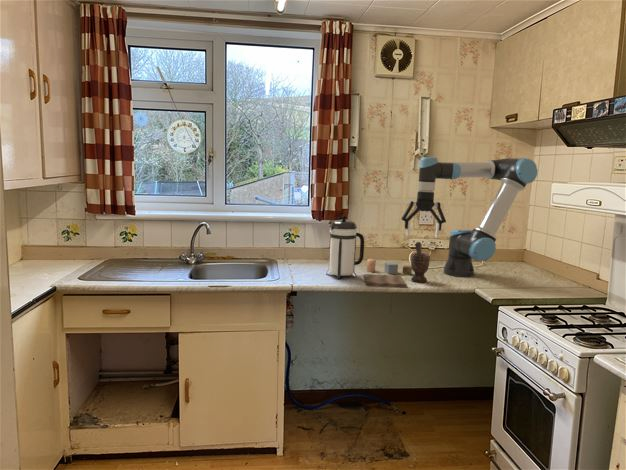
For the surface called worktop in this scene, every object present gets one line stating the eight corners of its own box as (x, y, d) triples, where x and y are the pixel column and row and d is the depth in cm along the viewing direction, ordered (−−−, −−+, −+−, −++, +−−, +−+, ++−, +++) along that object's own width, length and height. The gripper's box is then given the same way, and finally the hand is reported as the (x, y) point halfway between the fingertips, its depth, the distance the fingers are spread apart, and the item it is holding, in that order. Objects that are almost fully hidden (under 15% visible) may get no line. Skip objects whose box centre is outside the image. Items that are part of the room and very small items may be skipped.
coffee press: (354, 281, 212) (358, 218, 207) (322, 277, 217) (324, 215, 212) (362, 273, 228) (366, 214, 223) (332, 270, 233) (335, 212, 228)
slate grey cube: (393, 271, 235) (394, 262, 234) (397, 274, 230) (398, 264, 229) (384, 272, 234) (385, 262, 233) (388, 274, 229) (388, 264, 228)
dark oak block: (411, 273, 232) (412, 266, 231) (410, 275, 228) (410, 267, 228) (403, 272, 233) (404, 265, 233) (402, 274, 230) (402, 266, 229)
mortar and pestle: (429, 285, 210) (433, 243, 207) (411, 284, 211) (414, 242, 208) (426, 279, 221) (430, 239, 218) (408, 278, 222) (411, 238, 219)
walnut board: (400, 278, 221) (400, 275, 221) (406, 287, 205) (406, 284, 205) (363, 277, 221) (363, 274, 221) (366, 285, 206) (366, 282, 205)
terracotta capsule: (374, 270, 236) (375, 259, 235) (375, 272, 232) (376, 260, 231) (366, 269, 236) (366, 258, 235) (367, 272, 232) (367, 260, 231)
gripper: (450, 191, 213) (446, 236, 216) (397, 189, 213) (394, 234, 216) (455, 193, 205) (451, 239, 209) (400, 190, 206) (396, 236, 209)
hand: (422, 236), depth 212 cm, fingers open, 13 cm apart
